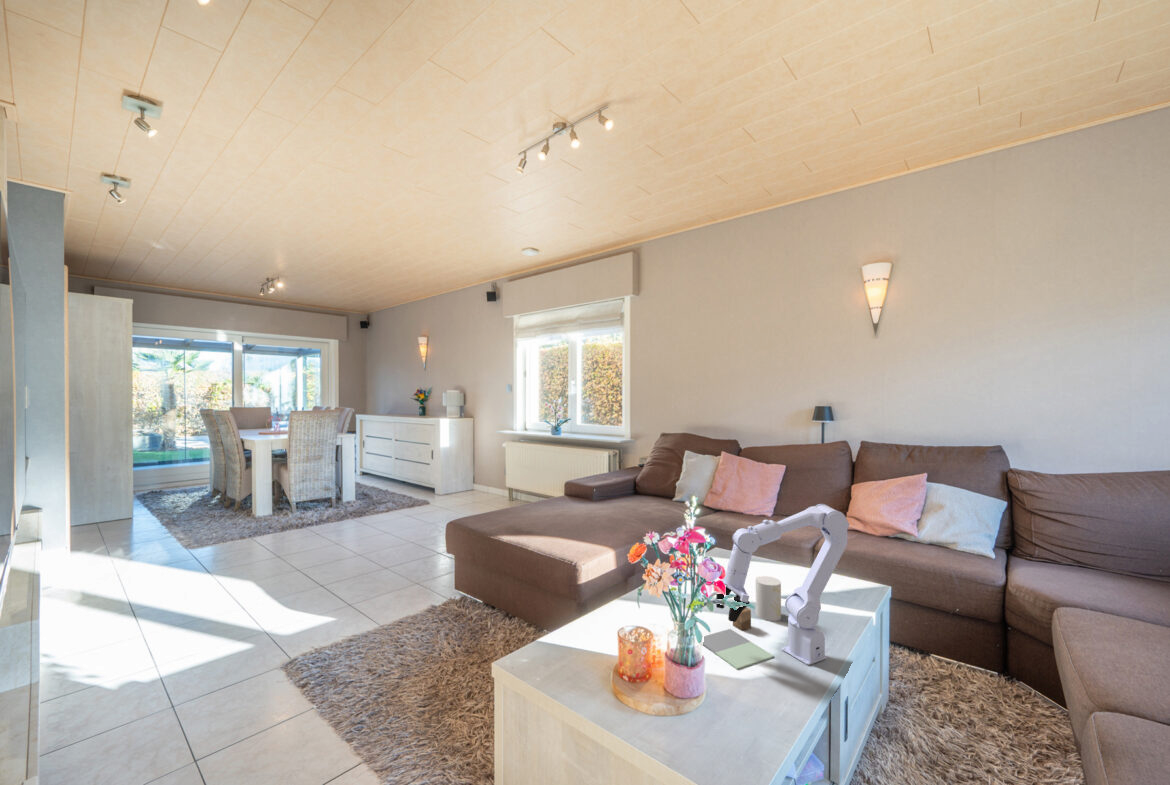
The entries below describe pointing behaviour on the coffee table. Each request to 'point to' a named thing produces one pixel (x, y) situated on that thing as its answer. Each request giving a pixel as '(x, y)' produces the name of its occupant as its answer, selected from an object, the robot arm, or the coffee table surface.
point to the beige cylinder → (768, 598)
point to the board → (735, 649)
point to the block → (743, 620)
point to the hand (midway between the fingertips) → (725, 614)
